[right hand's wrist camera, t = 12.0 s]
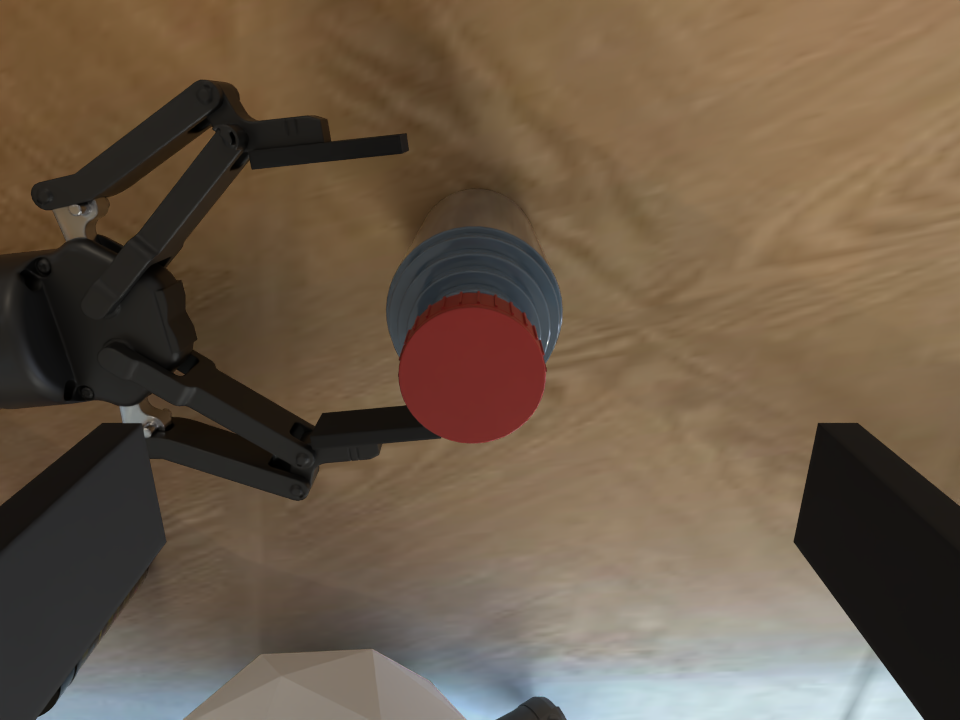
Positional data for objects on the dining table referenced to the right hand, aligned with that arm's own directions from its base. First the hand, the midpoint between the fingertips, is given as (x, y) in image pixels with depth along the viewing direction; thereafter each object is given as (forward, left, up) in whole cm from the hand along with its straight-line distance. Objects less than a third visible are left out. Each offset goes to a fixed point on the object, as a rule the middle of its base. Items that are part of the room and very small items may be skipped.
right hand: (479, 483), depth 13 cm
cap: (0, 0, -6) cm, 6 cm away
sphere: (-35, +7, -25) cm, 44 cm away
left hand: (-1, +3, -19) cm, 19 cm away
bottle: (0, 0, -25) cm, 25 cm away
